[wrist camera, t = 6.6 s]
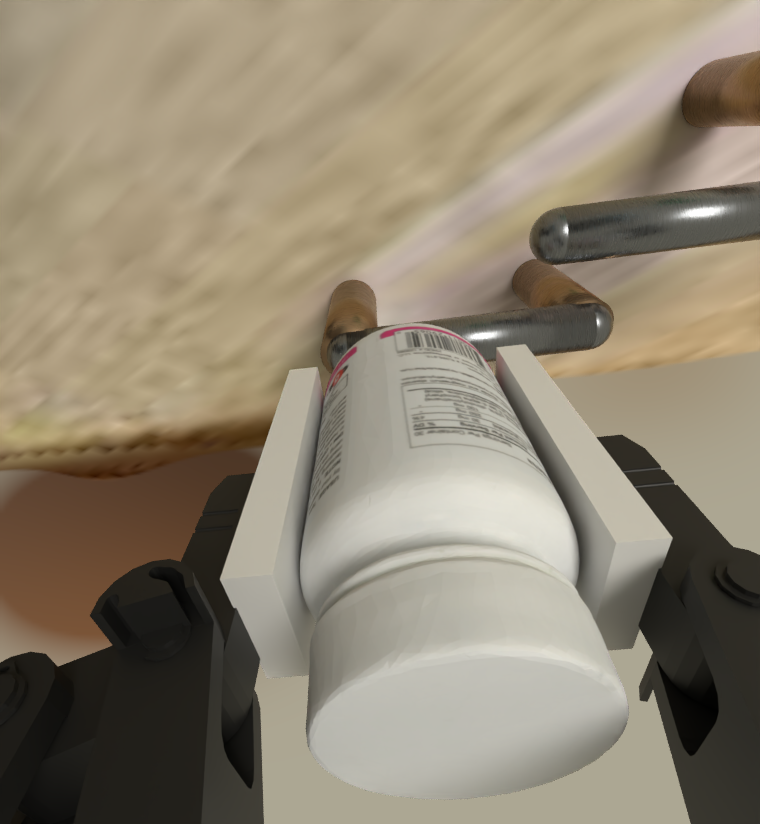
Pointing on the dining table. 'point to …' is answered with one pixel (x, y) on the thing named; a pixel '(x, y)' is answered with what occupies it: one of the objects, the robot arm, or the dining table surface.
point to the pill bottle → (444, 585)
